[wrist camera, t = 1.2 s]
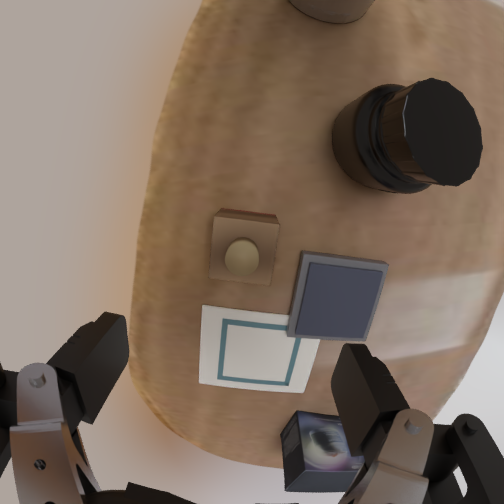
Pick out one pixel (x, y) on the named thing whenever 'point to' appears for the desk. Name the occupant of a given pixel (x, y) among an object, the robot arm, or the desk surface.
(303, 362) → the sheet
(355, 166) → the ink bottle
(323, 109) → the desk surface
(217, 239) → the stamp
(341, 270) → the ink pad
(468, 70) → the desk surface
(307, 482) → the small box
